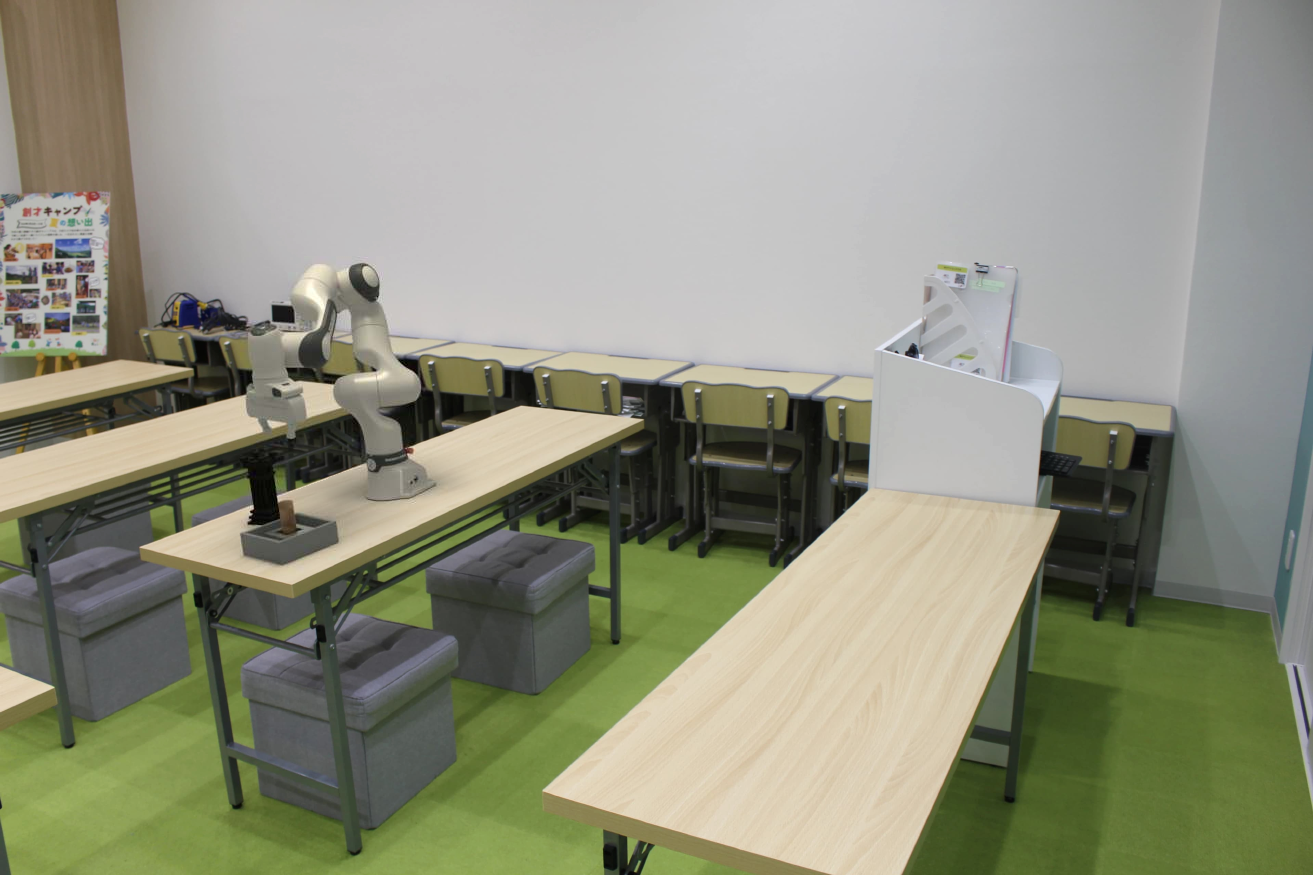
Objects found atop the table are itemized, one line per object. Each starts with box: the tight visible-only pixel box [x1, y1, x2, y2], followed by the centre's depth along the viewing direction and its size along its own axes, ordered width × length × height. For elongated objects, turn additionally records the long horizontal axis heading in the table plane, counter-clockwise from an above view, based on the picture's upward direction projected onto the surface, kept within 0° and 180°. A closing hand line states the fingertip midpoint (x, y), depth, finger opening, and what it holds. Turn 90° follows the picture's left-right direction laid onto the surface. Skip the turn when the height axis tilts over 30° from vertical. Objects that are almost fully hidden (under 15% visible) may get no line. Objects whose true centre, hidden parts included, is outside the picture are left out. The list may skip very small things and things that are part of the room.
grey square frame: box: [264, 524, 313, 541], centre depth 250 cm, size 9×9×4 cm
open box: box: [239, 512, 340, 566], centre depth 250 cm, size 18×16×6 cm
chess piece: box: [239, 450, 280, 526], centre depth 272 cm, size 8×8×20 cm
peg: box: [278, 499, 297, 535], centre depth 249 cm, size 4×4×12 cm
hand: (279, 435), depth 255 cm, fingers open, 8 cm apart
